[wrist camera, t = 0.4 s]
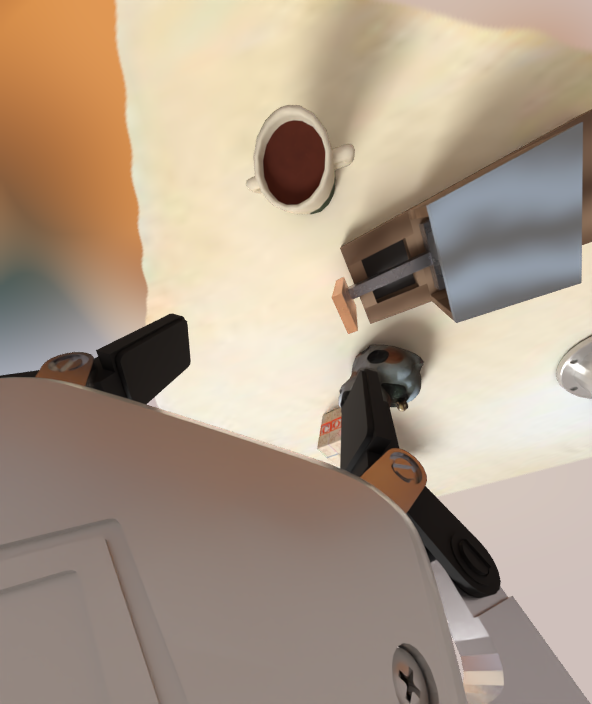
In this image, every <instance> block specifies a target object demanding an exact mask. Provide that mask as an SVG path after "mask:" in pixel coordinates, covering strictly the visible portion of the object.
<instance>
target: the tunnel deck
mask: <svg viewBox="0 0 592 704" xmlns="http://www.w3.org/2000/svg"><path fill="white" fill-rule="evenodd" d="M428 219H430V223H431V228H432V232H433V236H434V240H435V244H436V249H437V253H438V257H439V261H440V266H441V270H442V274H443V278H444V282H445V287H446V288H445V289H442V290H438V289H437V288H436V287H435V286H434V282H433V278H432V274H431V270H430V266H429V267H426V268H424V269H422V270H419V271H417V272H415V273H412V274H410V275H408V276H405V277H403V278H401V279H399V280H396V281H394V282H392V283H389V284H387V285H385V286H382V287H380V288H378V289H376V290H373V291H371V292H369V293H366V294H364V295H362V296H360V299H361V301H362V304H363V306H364V309H365V311H366V314H367V316H368V319H369V321H370V324H372V323H374V322H377V321H380V320H382V319H385V318H388V317H390V316H393V315H396V314H399V313H401V312H404V311H407V310H409V309H412V308H415V307H417V306H420V305H423V304H425V303H428V302H431V301H432V302H433V303H435V304H436V305H437V306H438V307H439V308H440V309H441V310H442V311H444V312H445V313H446V314H447V315H448V316H449V317H450V318H451V319H453V320H454V321H455V322H456V323H458V322H461V321H464V320H467V319H470V318H473V317H477V316H480V315H483V314H486V313H489V312H492V311H495V310H498V309H502V308H505V307H508V306H511V305H514V304H517V303H520V302H523V301H527V300H530V299H533V298H536V297H539V296H542V295H545V294H548V293H552V292H555V291H558V290H561V289H564V288H567V287H570V286H573V285H577V284H580V283H581V270H582V245H584V244H587V243H590V242H592V109H591V110H589V111H587V112H585V113H583V114H581V115H579V116H578V117H576V118H574V119H572V120H570V121H569V122H567V123H565V124H563V125H561V126H559V127H558V128H556V129H554V130H552V131H550V132H549V133H547V134H545V135H543V136H541V137H539V138H538V139H536V140H534V141H532V142H530V143H529V144H527V145H525V146H523V147H521V148H520V149H518V150H516V151H514V152H512V153H510V154H509V155H507V156H505V157H503V158H501V159H500V160H498V161H496V162H494V163H492V164H491V165H489V166H487V167H485V168H483V169H481V170H480V171H478V172H476V173H474V174H472V175H471V176H469V177H467V178H465V179H463V180H462V181H460V182H458V183H456V184H454V185H452V186H451V187H449V188H447V189H445V190H443V191H442V192H440V193H438V194H436V195H434V196H433V197H431V198H429V199H427V200H425V201H423V202H422V203H420V204H418V205H416V206H414V207H413V208H411V209H409V210H407V211H405V212H403V213H402V214H400V215H398V216H396V217H394V218H393V219H391V220H389V221H387V222H385V223H384V224H382V225H380V226H378V227H376V228H374V229H373V230H371V231H369V232H367V233H365V234H364V235H362V236H360V237H358V238H356V239H355V240H353V241H351V242H349V243H347V244H345V245H344V246H342V247H341V248H340V249H341V252H342V254H343V257H344V259H345V262H346V264H347V267H348V269H349V272H350V274H351V277H352V279H353V281H354V284H356V283H358V282H361V281H363V280H365V279H367V278H369V277H371V276H374V275H376V274H378V273H380V272H382V271H384V270H387V269H389V268H391V267H393V266H395V265H397V264H400V263H402V262H404V261H406V260H408V259H410V258H413V257H415V256H417V255H419V254H421V253H423V252H426V251H425V247H424V243H423V239H422V235H421V231H420V227H419V224H420V223H422V222H424V221H426V220H428Z"/></svg>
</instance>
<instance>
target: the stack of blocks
mask: <svg viewBox="0 0 592 704" xmlns="http://www.w3.org/2000/svg"><path fill="white" fill-rule="evenodd" d="M341 414H342V413H341V407H340V408H338V409H336V410H334V411H331V412H329V413H327V414H325V415H323V417H322V424H321V429H320V437H319V440H318V447H317V449H318V450H319V451H320V452H321V453H322V454H323V455H324V456H325V457H327V459H328V460H329V461H331V462H332V463H333V464H334V465H335V466H336V467H338V468H340V454H341Z"/></svg>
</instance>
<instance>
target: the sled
mask: <svg viewBox="0 0 592 704" xmlns="http://www.w3.org/2000/svg"><path fill="white" fill-rule="evenodd" d="M419 227H420V231H421V235H422V239H423V243H424V247H425V251H426V252H423V253H421V254H419V255H417V256H415V257H413V258H410V259H408V260H406V261H404V262H402V263H400V264H397V265H395V266H393V267H391V268H389V269H387V270H384V271H382V272H380V273H378V274H376V275H374V276H371V277H369V278H367V279H365V280H363V281H361V282H358V283H356V284H354V285H352V286H350V287H348V286H347V283H346V281H345V278H344V277H343V278H340V279H338V280H336V284H335V287H334V291H333V295H332V299H333V302H334V304H335V306H336V308H337V310H338V313H339V315H340V317H341V319H342V321H343V324H344V326H345V328H346V330H347V332H348V334H350V333H353V332H355V331H358V327H357V312H356V305H355V303H354V300H353V299H355V298H357V297H359V296H362V295H364V294H366V293H369V292H371V291H373V290H376V289H378V288H380V287H382V286H385V285H387V284H389V283H392V282H394V281H396V280H399V279H401V278H403V277H405V276H408V275H410V274H412V273H415V272H417V271H419V270H422V269H424V268H426V267H429V266H430V270H431V274H432V278H433V282H434V286H435V287H436V288H437V289H438V290H442V289H445V288H446V287H445V282H444V278H443V274H442V270H441V266H440V261H439V257H438V253H437V249H436V244H435V240H434V236H433V232H432V228H431V223H430V219H428V220H426V221H424V222H422V223H420V224H419Z"/></svg>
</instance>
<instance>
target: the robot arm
mask: <svg viewBox="0 0 592 704" xmlns="http://www.w3.org/2000/svg"><path fill="white" fill-rule="evenodd" d="M96 351H97V354H98V357H97V358H95V359H94V357H93V356H92V355H91V354H88V353H84V352H72V353H65V354H62V355H58V356H56V357H53V358H51V359H49V360H47V361H46V362H45V363H44V364H43V365H42V367H41V368H40V370H38V371H30V372H23V373H16V374H9V375H2V376H0V704H590V703H589V701H588V700H587V698H586V697H585V696H584V694H583V693H582V692H581V690H580V689H579V687H578V686H577V685H576V683H575V682H574V680H573V679H572V678H571V676H570V675H569V674H568V672H567V671H566V669H565V668H564V667H563V665H562V664H561V662H560V661H559V660H558V658H557V657H556V655H555V654H554V653H553V651H552V650H551V649H550V647H549V646H548V644H547V643H546V642H545V640H544V639H543V637H542V636H541V635H540V633H539V632H538V631H537V629H536V628H535V626H534V625H533V624H532V622H531V621H530V620H529V618H528V617H527V615H526V614H525V613H524V611H523V610H522V608H521V607H520V606H519V604H518V603H517V602H516V600H515V599H514V597H513V596H511V597H508V596H507V595H506V594H505V592H504V591H503V589H502V588H501V587H500V582H501V581H500V576H499V572H498V569H497V567H496V565H495V563H494V561H493V559H492V558H491V556H490V554H489V553H488V551H487V550H486V549H485V548H484V546H483V545H482V544H481V543H480V542H479V541H478V540H477V538H476V537H474V536H473V534H472V533H471V532H470V531H468V529H467V528H466V527H465V526H464V525H463V524H462V523H461V522H460V521H459V520H458V519H457V518H456V517H455V516H454V515H453V514H452V513H451V512H450V511H449V510H448V509H447V508H446V507H445V506H444V505H443V504H442V503H441V502H440V501H439V500H438V499H437V497H436V496H435V495H434V494H433V493H432V492H431V491H430V490H429V489H428V488H427V487H426V486H425V485H426V483H427V475H426V473H425V470H424V468H423V466H422V465H421V463H420V462H419V461H418V460H417V459H416V458H415V457H414V456H413V455H411V454H410V453H409V452H407V451H405V450H403V449H399V445H398V441H397V437H396V433H395V429H394V424H393V420H392V416H391V412H390V408H389V404H388V402H386V401H383V396H382V391H381V387H380V382H379V377H378V373H377V372H376V371H373V370H369V369H364V371H362V370H360V371H359V373H358V376H357V378H356V380H355V382H354V384H353V386H352V388H351V391H350V393H349V395H348V397H347V399H346V401H345V404H344V406H343V408H342V414H341V454H340V468H338V467H336V466H333V465H330V464H328V463H325V462H322V461H319V460H316V459H314V458H311V457H308V456H305V455H302V454H299V453H296V452H293V451H290V450H287V449H284V448H281V447H278V446H275V445H272V444H269V443H265V442H262V441H259V440H256V439H253V438H250V437H247V436H244V435H241V434H238V433H235V432H231V431H228V430H225V429H222V428H219V427H216V426H213V425H209V424H206V423H203V422H200V421H197V420H194V419H191V418H187V417H184V416H181V415H178V414H175V413H172V412H168V411H165V410H162V409H159V408H156V407H152V406H149V405H146V404H147V403H148V402H149V401H150V400H152V399H153V398H154V397H155V396H156V395H157V394H158V393H160V392H161V391H162V390H163V389H164V388H165V387H166V386H167V385H169V384H170V383H171V382H172V381H173V380H174V379H175V378H176V377H178V376H179V375H180V374H181V373H182V372H183V371H184V370H185V369H187V368H188V367H189V365H190V361H191V360H190V349H189V337H188V326H187V321H186V320H185V319H184V317H183V316H179V315H176V314H169V315H167V316H165V317H163V318H161V319H159V320H157V321H155V322H153V323H151V324H149V325H147V326H145V327H143V328H141V329H138V330H137V331H134V332H133V333H130V334H129V335H126V336H124V337H122V338H120V339H118V340H116V341H114V342H112V343H110V344H108V345H106V346H104V347H102V348H100V349H98V350H96ZM556 377H557V381H558V382H559V384H560V385H561V386H562V387H563V388H564V389H565V390H567V391H568V392H570V393H571V394H574V395H576V396H579V397H583V398H589V399H592V336H591V337H589V338H587V339H586V340H584V341H582V342H580V343H579V344H577V345H576V346H575V347H573V348H572V349H571V350H570V351H569V352H568V353H567V354H566V355H565V356H564V357H563V358H562V360H561V361H560V362H559V365H558V367H557V370H556ZM447 621H448V622H447ZM451 636H452V638H453V639H454V641H455V644H456V646H457V649H458V651H459V654H460V656H461V660H462V665H463V670H464V677H463V682H462V678H461V673H460V669H459V665H458V661H457V658H456V654H455V650H454V646H453V643H452V638H451ZM397 647H399V648H397Z"/></svg>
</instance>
